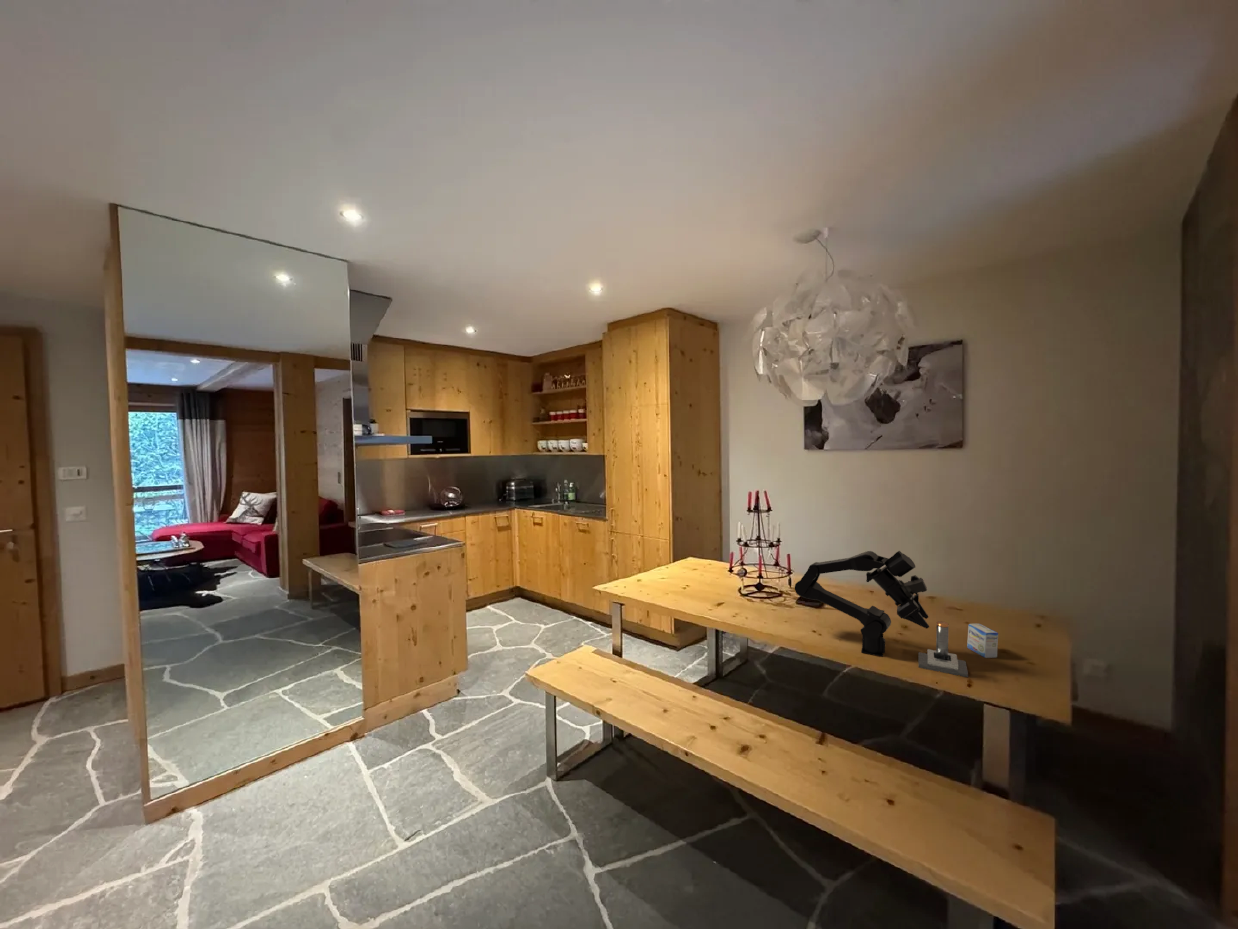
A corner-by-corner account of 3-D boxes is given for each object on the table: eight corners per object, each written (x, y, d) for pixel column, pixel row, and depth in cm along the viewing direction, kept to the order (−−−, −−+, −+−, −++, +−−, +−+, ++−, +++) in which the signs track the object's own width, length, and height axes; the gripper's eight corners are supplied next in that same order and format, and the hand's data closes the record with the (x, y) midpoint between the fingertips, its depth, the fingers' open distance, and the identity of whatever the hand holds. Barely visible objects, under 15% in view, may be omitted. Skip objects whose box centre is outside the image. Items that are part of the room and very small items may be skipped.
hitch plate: (918, 667, 159) (918, 658, 159) (918, 655, 167) (918, 646, 167) (968, 677, 152) (968, 668, 152) (965, 664, 161) (965, 655, 160)
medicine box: (966, 647, 172) (967, 623, 172) (978, 647, 173) (979, 623, 172) (984, 658, 164) (986, 633, 164) (997, 657, 165) (998, 632, 164)
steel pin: (936, 663, 159) (936, 624, 158) (935, 659, 162) (936, 620, 161) (948, 665, 157) (948, 626, 156) (947, 661, 160) (948, 622, 159)
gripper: (910, 577, 154) (951, 618, 150) (910, 563, 170) (947, 599, 166) (880, 598, 159) (920, 638, 154) (883, 582, 175) (919, 618, 170)
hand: (927, 622), depth 161 cm, fingers open, 9 cm apart
